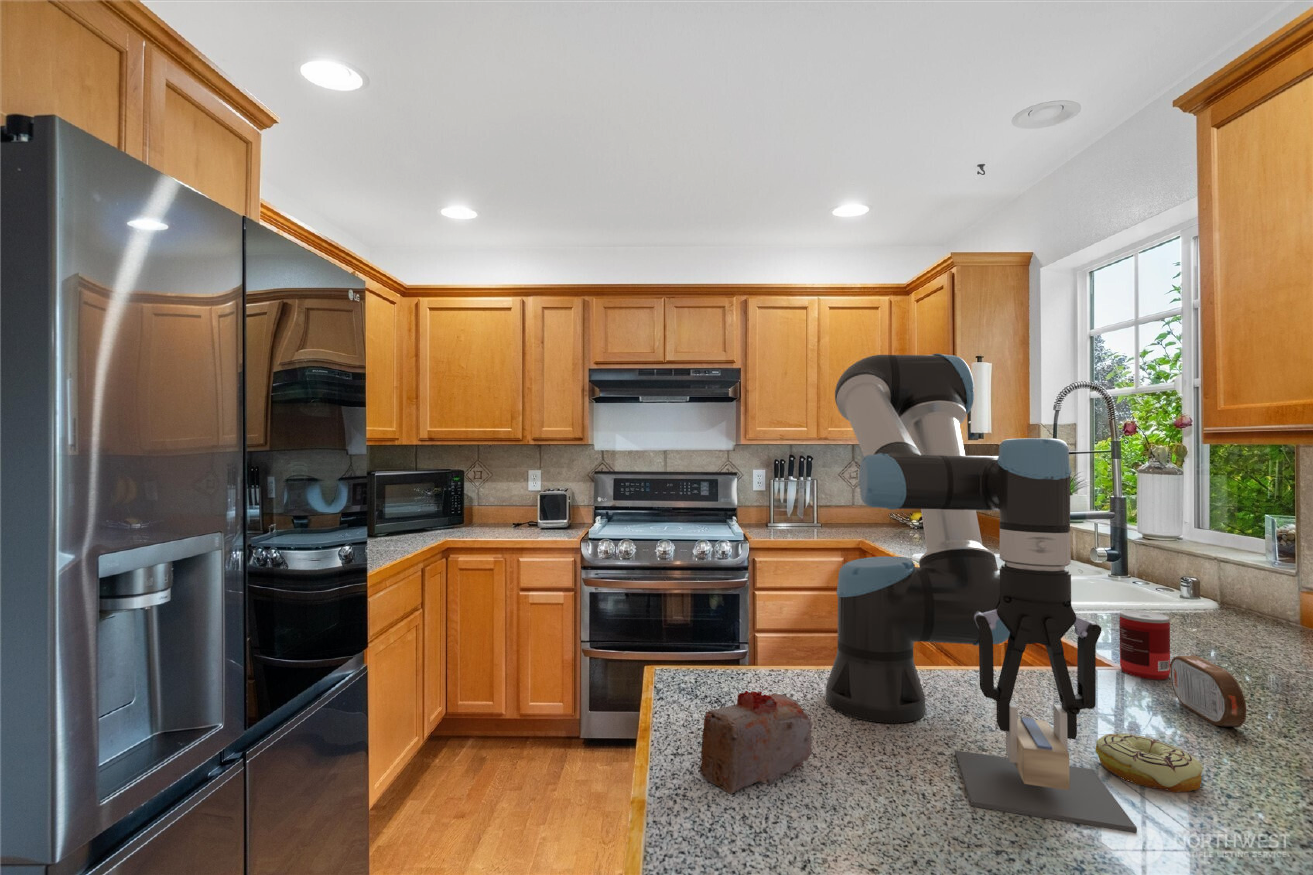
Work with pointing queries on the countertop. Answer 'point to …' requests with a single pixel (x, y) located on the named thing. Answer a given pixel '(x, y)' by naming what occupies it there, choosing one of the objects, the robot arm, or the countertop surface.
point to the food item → (754, 740)
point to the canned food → (1145, 644)
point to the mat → (1040, 793)
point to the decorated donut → (1149, 762)
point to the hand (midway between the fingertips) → (1036, 760)
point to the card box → (1041, 755)
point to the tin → (1208, 691)
